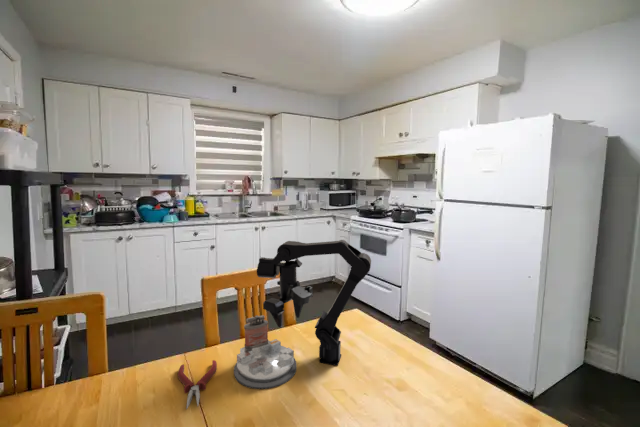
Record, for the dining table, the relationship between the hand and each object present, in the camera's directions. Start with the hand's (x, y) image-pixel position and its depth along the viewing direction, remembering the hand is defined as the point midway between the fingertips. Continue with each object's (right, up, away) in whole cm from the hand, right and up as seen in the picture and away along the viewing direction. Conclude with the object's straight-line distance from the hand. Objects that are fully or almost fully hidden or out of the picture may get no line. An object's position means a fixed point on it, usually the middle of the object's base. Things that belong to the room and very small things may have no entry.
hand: (288, 322), depth 110 cm
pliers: (-28, -14, -15) cm, 35 cm away
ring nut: (-7, -11, -8) cm, 15 cm away
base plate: (-7, -13, -7) cm, 16 cm away
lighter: (-11, -7, -3) cm, 13 cm away
